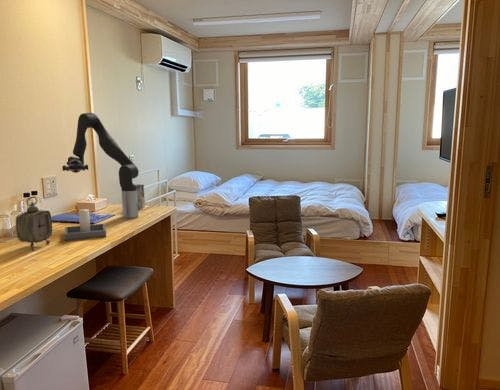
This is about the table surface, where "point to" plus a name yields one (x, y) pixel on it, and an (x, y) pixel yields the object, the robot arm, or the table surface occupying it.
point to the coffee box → (140, 197)
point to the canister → (84, 220)
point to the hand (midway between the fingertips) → (75, 169)
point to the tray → (75, 233)
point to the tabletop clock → (34, 225)
